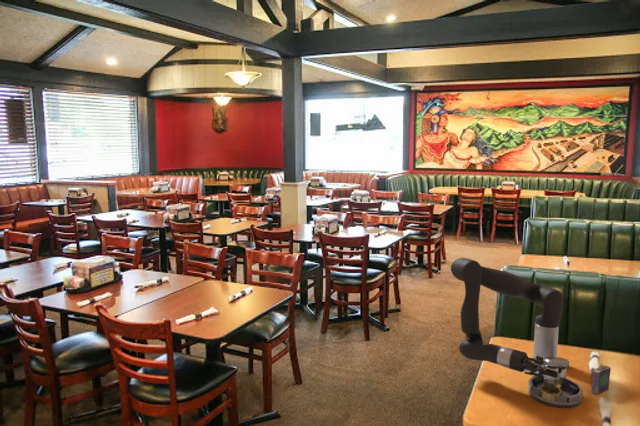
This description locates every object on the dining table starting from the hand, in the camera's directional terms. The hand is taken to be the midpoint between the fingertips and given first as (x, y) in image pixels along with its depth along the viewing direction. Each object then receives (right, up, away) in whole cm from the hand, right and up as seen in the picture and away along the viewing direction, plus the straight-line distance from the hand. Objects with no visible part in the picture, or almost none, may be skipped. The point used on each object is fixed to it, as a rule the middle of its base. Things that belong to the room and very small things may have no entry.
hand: (559, 372), depth 182 cm
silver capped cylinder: (-2, -6, +3) cm, 7 cm away
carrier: (+2, -11, +8) cm, 13 cm away
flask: (+21, -11, +11) cm, 26 cm away
